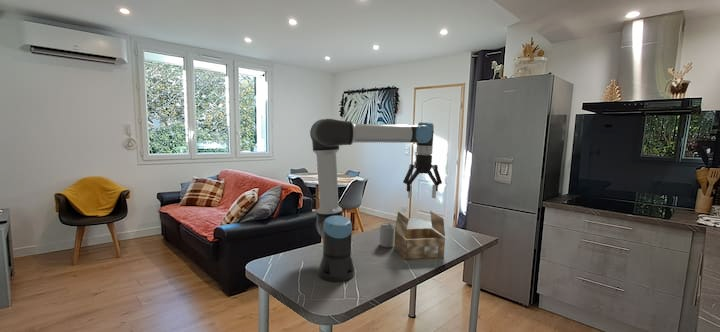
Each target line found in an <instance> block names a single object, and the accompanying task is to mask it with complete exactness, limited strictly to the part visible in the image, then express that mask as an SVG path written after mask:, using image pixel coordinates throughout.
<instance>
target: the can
mask: <svg viewBox="0 0 720 332" xmlns="http://www.w3.org/2000/svg"><path fill="white" fill-rule="evenodd" d="M394 242H395V226H394V223H392V222H387V221H386V222H381V225H380V226H379V245H380V247H382V248H392V247H393V246H394Z"/></svg>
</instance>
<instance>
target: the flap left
mask: <svg viewBox="0 0 720 332" xmlns="http://www.w3.org/2000/svg"><path fill="white" fill-rule="evenodd" d="M409 220H410V219H409V218H408V217H407V216H406V215H404V214H403V213H401V211H398V212H397V216H396V220H395V221H396V222H395V224H394V225H395V226H394V231H395V230H396V231H398V232H399V233H400V234H401V235H402V236H403V237H404V238H405V235H406V230H407V229H408V224H409Z"/></svg>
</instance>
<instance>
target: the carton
mask: <svg viewBox="0 0 720 332" xmlns="http://www.w3.org/2000/svg"><path fill="white" fill-rule="evenodd" d="M445 245H446V238H445V236H443V235H442V234H441V233H439V232H438V231H436V230H435V229H433V228H432V227H431V228H430V227H428V228H427V227H425V228H424V227H423V228H422V227H421V228H419V227H417V228H407V230H406V235H405V238H404V237H403V236H402V235H401V234H400V233H399V232H398V231H396V230H395V229H394V245H393V246H394V250H395V251H396V252H397V253H398V254H399V255H400V256H401V258H402V259H403V260H404V261H411V260H412V261H414V260H432V259H444V258H445Z"/></svg>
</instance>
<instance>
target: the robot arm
mask: <svg viewBox="0 0 720 332" xmlns="http://www.w3.org/2000/svg"><path fill="white" fill-rule="evenodd" d="M434 127H435V126H434V123H433V122H425V121H424V122H423V121H422V122H421V121H420V122H418V123H417V125H415V124H414V125H413V124H412V125H409V124H376V123H375V124H374V123H373V124H371V123H370V124H367V123H366V124H365V123H353V122H352V121H351V120H340V119H339V120H338V119H335V118H323V119H319V120H316V121H315V122H314V123H313V124H312V126H311V128H310V131H309V133H310V134H309V135H310V138H311V141H312V142H311V143H312V151H313V152H314V153H315V154H316V164H317V165H316V167H317V168H316V169H317V187H318V199H319V202H318V203H319V207H318V208H317V209H316V220H315V228H316V231H317V232H318V235H320V237H321V239H322V241H323V242H322V243H323V246H322V249H323V250H322V258H321V260H320V264H319V267H318V274H319V275H318V276H319V277H320V279H322V280H324V281H327V282H334V283H335V282H338V283H339V282H344V281H348V280H351V279H353V278H354V276H355V266H354V263H353V258H352V232H353V225H352V221H351V220H350V219H349V217H346V216H343V208H342V207H341V206H340V204H339V188H338V186H339V185H338V170H337V169H338V167H337V153H338V152H339V150H340V146H347V145H348V146H351V145H353V144H354V143H394V144H395V143H406V144H407V143H409V144H410V143H413V144H414V143H415V144H416V157H415V164H412V163H410V164H409V165H408V166H409V167H408V171H407V173H406V175H405V177H404V179H403V181H402V182H403V184H405V185H406V192H407V198H408V199H412V192H413V191H412V190H413V185H412V184H413V182H414V181H415V180H416V178H417V177H418V175H420V174H427V175H428V177H429V178H430V180H431V181H432V183H433V184H432V188H431V189H432V190H431V198H432V199H436V197H437V192H439V191H438V190H439V189H438V188H439V185H442V183H443V181H442V178H441V176H440V172H439V169H438V165H437V164H432V162H433V156H432V154H433V148H434V147H433V142H434V134H435V133H434ZM414 169H415V170H414ZM431 169H432V171H433V172H432V171H431ZM413 171H414V172H413ZM433 173H434V174H433Z"/></svg>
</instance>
